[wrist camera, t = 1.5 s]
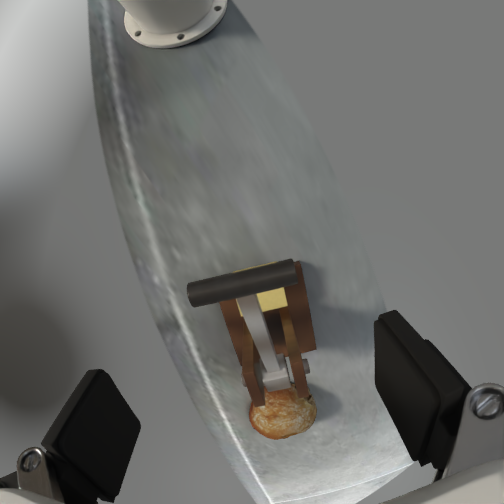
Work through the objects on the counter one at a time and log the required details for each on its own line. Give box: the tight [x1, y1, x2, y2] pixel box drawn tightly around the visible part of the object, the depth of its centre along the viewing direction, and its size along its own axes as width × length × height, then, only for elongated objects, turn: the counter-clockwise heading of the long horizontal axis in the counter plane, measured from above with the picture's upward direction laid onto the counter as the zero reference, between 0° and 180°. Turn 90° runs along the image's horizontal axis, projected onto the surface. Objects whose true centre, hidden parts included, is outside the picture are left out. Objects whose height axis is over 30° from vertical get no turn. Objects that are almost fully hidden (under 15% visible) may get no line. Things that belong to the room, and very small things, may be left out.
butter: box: [234, 261, 288, 316], centre depth 31 cm, size 4×5×3 cm
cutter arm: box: [187, 259, 298, 392], centre depth 20 cm, size 15×6×2 cm, turn 14°
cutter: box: [219, 261, 316, 407], centre depth 29 cm, size 12×10×13 cm
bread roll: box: [249, 384, 317, 440], centre depth 37 cm, size 10×10×8 cm
